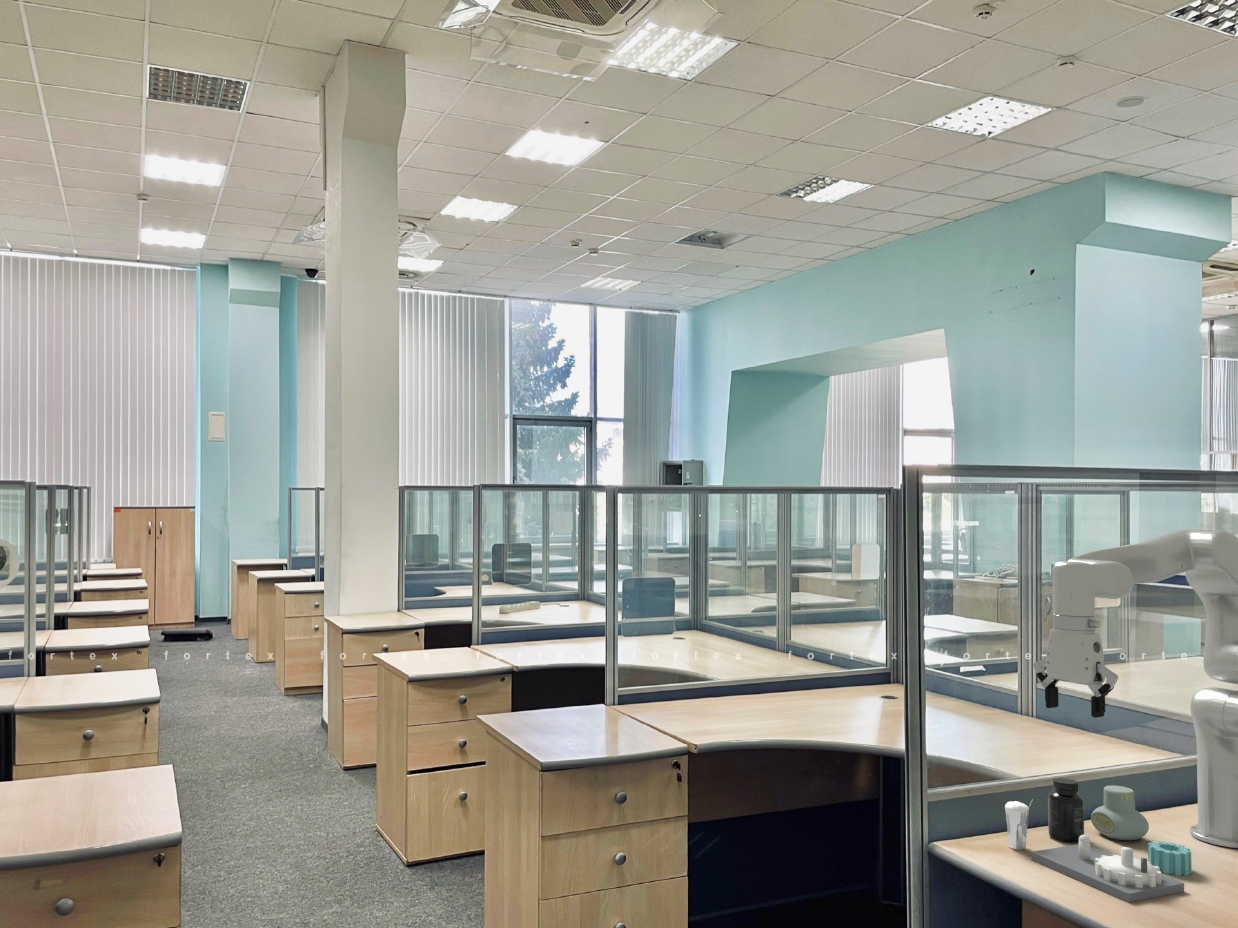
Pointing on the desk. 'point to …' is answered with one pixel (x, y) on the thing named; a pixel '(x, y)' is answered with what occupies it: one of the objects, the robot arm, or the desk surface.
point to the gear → (1170, 857)
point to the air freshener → (1119, 815)
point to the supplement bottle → (1065, 811)
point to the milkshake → (1017, 824)
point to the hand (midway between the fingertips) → (1074, 711)
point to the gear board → (1109, 871)
